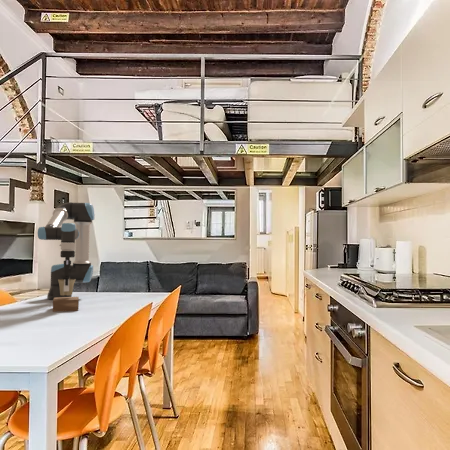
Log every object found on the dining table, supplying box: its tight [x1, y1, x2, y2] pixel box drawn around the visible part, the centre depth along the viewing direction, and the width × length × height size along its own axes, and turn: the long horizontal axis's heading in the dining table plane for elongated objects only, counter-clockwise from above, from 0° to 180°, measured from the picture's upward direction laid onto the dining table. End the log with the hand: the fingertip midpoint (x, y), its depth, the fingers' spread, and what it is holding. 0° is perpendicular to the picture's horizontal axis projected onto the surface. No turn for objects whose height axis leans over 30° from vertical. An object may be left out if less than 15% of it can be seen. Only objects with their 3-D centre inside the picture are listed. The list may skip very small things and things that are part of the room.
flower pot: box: [58, 279, 76, 296], centre depth 224 cm, size 9×9×9 cm
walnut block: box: [52, 296, 80, 313], centre depth 224 cm, size 13×13×6 cm
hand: (66, 290), depth 224 cm, fingers closed on flower pot, 9 cm apart
